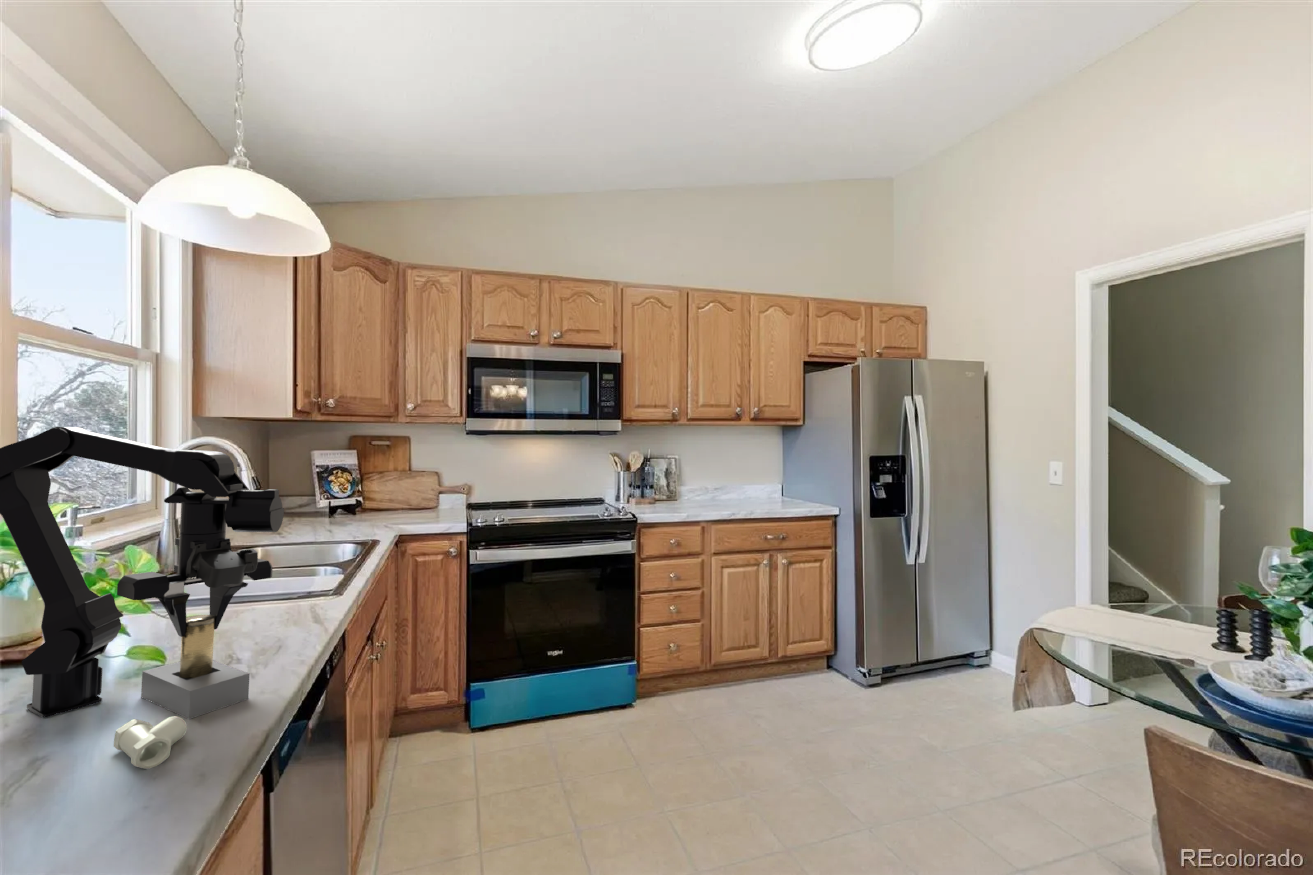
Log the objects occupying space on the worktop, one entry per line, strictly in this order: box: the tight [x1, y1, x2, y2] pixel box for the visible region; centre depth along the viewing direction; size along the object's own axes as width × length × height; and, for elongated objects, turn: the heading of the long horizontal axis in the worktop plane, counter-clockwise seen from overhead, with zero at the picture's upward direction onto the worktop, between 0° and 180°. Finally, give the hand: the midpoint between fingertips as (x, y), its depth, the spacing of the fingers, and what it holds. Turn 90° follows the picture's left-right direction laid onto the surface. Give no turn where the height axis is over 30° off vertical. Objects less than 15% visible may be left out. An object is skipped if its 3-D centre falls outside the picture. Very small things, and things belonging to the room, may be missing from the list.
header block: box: [140, 659, 250, 720], centre depth 92 cm, size 8×14×4 cm, turn 63°
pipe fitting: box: [113, 715, 188, 770], centre depth 76 cm, size 8×4×7 cm
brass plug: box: [179, 614, 215, 678], centre depth 92 cm, size 4×4×8 cm
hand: (198, 632), depth 92 cm, fingers closed on brass plug, 4 cm apart
